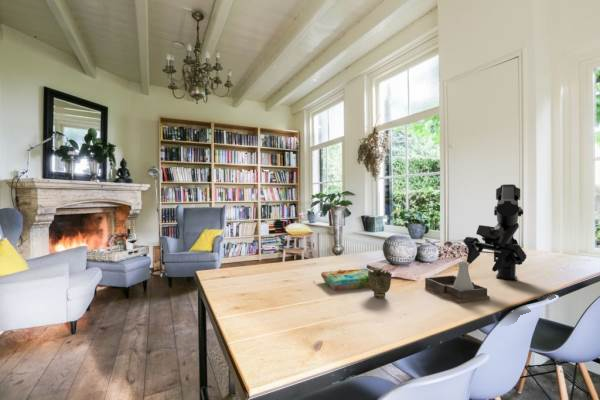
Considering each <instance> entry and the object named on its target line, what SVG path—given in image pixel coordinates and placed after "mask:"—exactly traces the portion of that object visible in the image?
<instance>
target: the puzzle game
mask: <svg viewBox="0 0 600 400" xmlns="http://www.w3.org/2000/svg"><path fill="white" fill-rule="evenodd" d="M369 271H371V273H372V272H373V271H374V270H371V269H369V268H359V269H358V268H356V269H344V270H343V269H338V270H333V271H332V270H330V271H322V272H321V275H320V276H321V278H322V280H323V281H324V283H325V284H326V285H328V286H329V287H330V288H332V289H333V290H334V291H342V290H352V289H360V288H361V289H362V288H370V284H369V276H368V272H369Z"/></svg>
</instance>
